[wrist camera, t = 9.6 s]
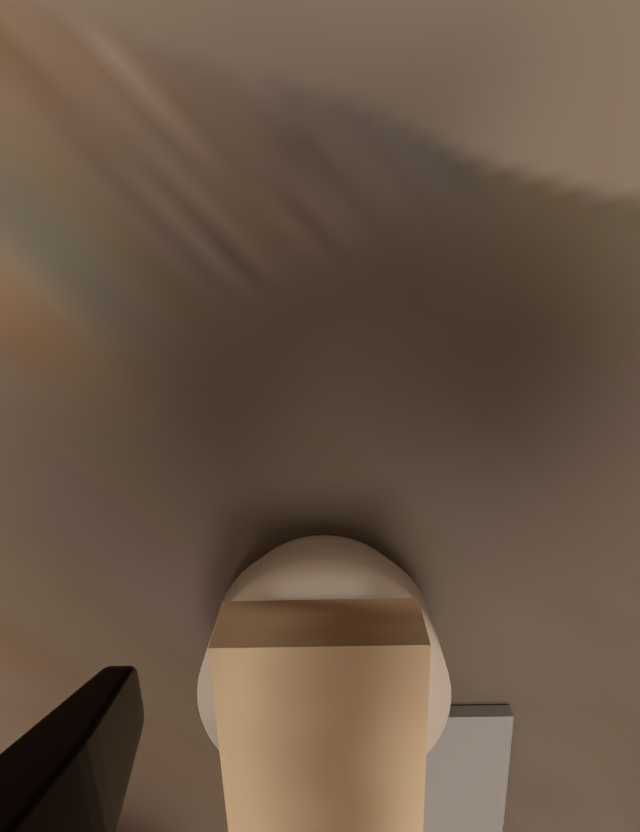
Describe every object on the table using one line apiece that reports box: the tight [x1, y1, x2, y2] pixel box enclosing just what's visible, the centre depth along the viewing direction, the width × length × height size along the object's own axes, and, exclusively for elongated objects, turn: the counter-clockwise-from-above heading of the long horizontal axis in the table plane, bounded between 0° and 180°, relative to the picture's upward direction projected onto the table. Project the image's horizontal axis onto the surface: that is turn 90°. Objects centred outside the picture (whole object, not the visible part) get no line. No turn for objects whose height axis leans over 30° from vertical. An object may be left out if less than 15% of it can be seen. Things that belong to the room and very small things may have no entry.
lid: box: [208, 598, 431, 832], centre depth 16 cm, size 6×8×2 cm
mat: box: [423, 705, 514, 832], centre depth 24 cm, size 10×10×1 cm
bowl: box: [197, 535, 451, 755], centre depth 19 cm, size 8×8×5 cm
